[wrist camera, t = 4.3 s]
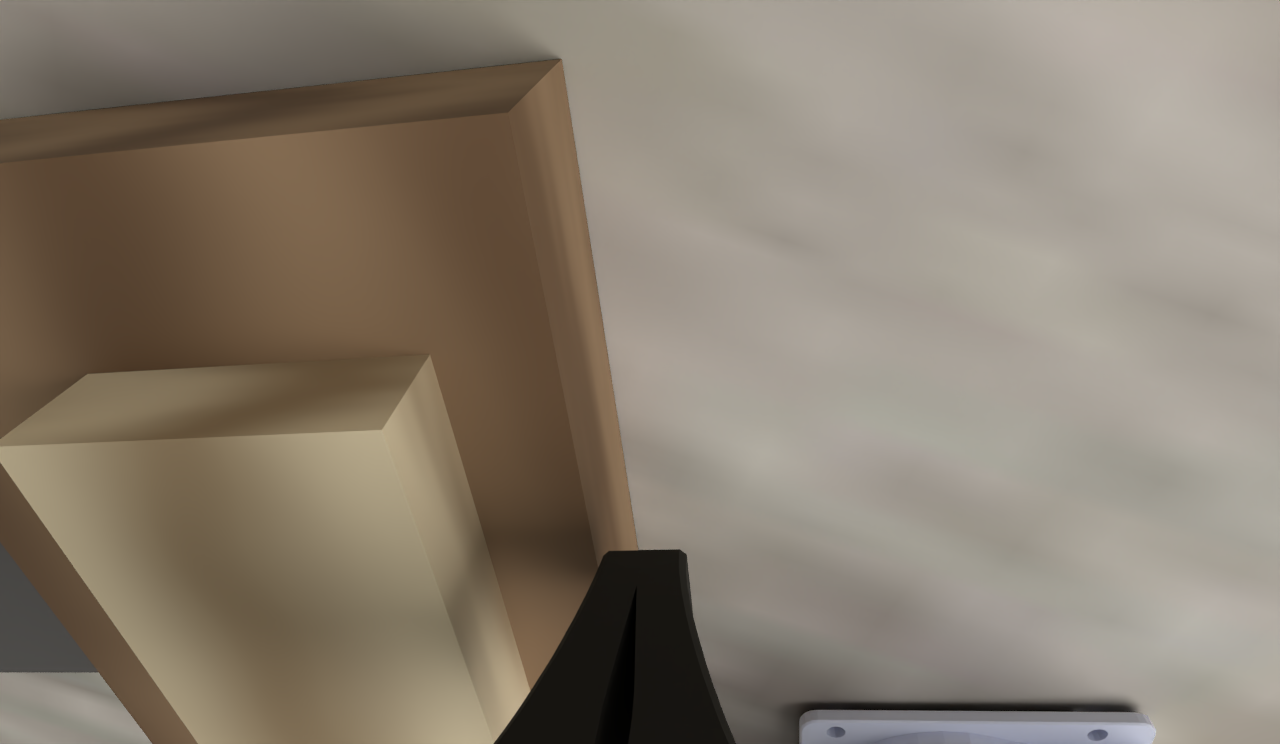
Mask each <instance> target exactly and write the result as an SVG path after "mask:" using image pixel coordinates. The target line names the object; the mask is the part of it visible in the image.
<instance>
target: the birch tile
mask: <svg viewBox="0 0 1280 744" xmlns="http://www.w3.org/2000/svg"><path fill="white" fill-rule="evenodd" d="M0 463H1V464H2V466H3V467H4V468H5V470H6V471H7V473H8V474H9V476H10V477H11V478H12V480H13V481H14V483H15V484H16V485H17V487H18V488H19V490H20V491H21V493H22V494H23V495H24V497H25V498H26V500H27V501H28V503H29V504H30V505H31V507H32V508H33V510H34V511H35V513H36V514H37V515H38V517H39V518H40V520H41V521H42V522H43V524H44V525H45V527H46V528H47V530H48V531H49V532H50V534H51V535H52V537H53V538H54V540H55V541H56V542H57V544H58V545H59V547H60V548H61V549H62V551H63V552H64V554H65V555H66V557H67V558H68V559H69V561H70V562H71V564H72V565H73V567H74V568H75V569H76V571H77V572H78V574H79V575H80V577H81V578H82V579H83V581H84V582H85V584H86V585H87V586H88V588H89V589H90V591H91V592H92V594H93V595H94V596H95V598H96V599H97V601H98V602H99V604H100V605H101V606H102V608H103V609H104V611H105V612H106V614H107V615H108V616H109V618H110V619H111V621H112V622H113V623H114V625H115V626H116V628H117V629H118V631H119V632H120V633H121V635H122V636H123V638H124V639H125V641H126V642H127V643H128V645H129V646H130V648H131V649H132V650H133V652H134V653H135V655H136V656H137V658H138V659H139V660H140V662H141V663H142V665H143V666H144V668H145V669H146V670H147V672H148V673H149V675H150V676H151V678H152V679H153V680H154V682H155V683H156V685H157V686H158V687H159V689H160V690H161V692H162V693H163V695H164V696H165V697H166V699H167V700H168V702H169V703H170V705H171V706H172V707H173V709H174V710H175V712H176V713H177V715H178V716H179V717H180V719H181V720H182V722H183V723H184V724H185V726H186V727H187V729H188V730H189V732H190V733H191V734H192V736H193V737H194V739H195V740H196V742H197V743H198V744H494V742H495V741H496V740H497V738H498V737H499V736H500V734H501V733H502V732H503V730H504V729H505V727H506V726H507V725H508V723H509V722H510V721H511V719H512V718H513V716H514V715H515V713H516V712H517V710H518V709H519V708H520V706H521V705H522V703H523V702H524V700H525V699H526V697H527V696H528V694H529V692H530V688H529V685H528V682H527V678H526V675H525V671H524V668H523V665H522V661H521V658H520V655H519V651H518V648H517V645H516V641H515V638H514V635H513V631H512V628H511V625H510V621H509V618H508V614H507V611H506V608H505V604H504V601H503V598H502V594H501V591H500V588H499V584H498V581H497V578H496V574H495V571H494V568H493V564H492V561H491V558H490V554H489V551H488V547H487V544H486V541H485V537H484V534H483V531H482V527H481V524H480V521H479V517H478V514H477V511H476V507H475V504H474V501H473V497H472V494H471V490H470V487H469V484H468V480H467V477H466V474H465V470H464V467H463V464H462V460H461V457H460V454H459V450H458V447H457V444H456V440H455V437H454V433H453V430H452V427H451V423H450V420H449V417H448V413H447V410H446V407H445V403H444V400H443V397H442V393H441V390H440V387H439V383H438V380H437V376H436V373H435V370H434V366H433V363H432V360H431V356H430V354H429V355H412V356H394V357H376V358H359V359H341V360H324V361H306V362H289V363H271V364H254V365H236V366H218V367H201V368H183V369H166V370H148V371H131V372H113V373H96V374H87V375H85V376H84V377H83V378H81V379H80V380H79V381H77V382H76V383H75V384H73V385H72V386H71V387H69V388H68V389H67V390H65V391H64V392H63V393H61V394H60V395H59V396H57V397H56V398H55V399H53V400H52V401H51V402H49V403H48V404H47V405H45V406H44V407H43V408H41V409H40V410H39V411H37V412H36V413H35V414H33V415H32V416H30V417H29V418H28V419H26V420H25V421H24V422H22V423H21V424H20V425H18V426H17V427H16V428H14V429H13V430H12V431H10V432H9V433H8V434H6V435H5V436H4V437H2V438H1V439H0Z"/></svg>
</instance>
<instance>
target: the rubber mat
mask: <svg viewBox="0 0 1280 744" xmlns="http://www.w3.org/2000/svg"><path fill="white" fill-rule="evenodd" d="M0 672H98V671H97V669H96V668H95V667H94V665H93V664H92V663H91V662H90V660H89V659H88V658H87V656H86V655H85V654H84V652H83V651H82V650H81V648H80V647H79V646H78V644H77V643H76V642H75V640H74V639H73V638H72V636H71V635H70V634H69V632H68V631H67V630H66V628H65V627H64V626H63V624H62V623H61V622H60V620H59V619H58V618H57V617H56V615H55V614H54V613H53V611H52V610H51V609H50V607H49V606H48V605H47V603H46V602H45V601H44V599H43V598H42V597H41V595H40V594H39V593H38V591H37V590H36V589H35V587H34V586H33V585H32V583H31V582H30V581H29V579H28V578H27V577H26V576H25V574H24V573H23V572H22V570H21V569H20V568H19V566H18V565H17V564H16V562H15V561H14V560H13V558H12V557H11V556H10V554H9V553H8V552H7V550H6V549H5V548H4V546H3V545H2V544H1V542H0Z"/></svg>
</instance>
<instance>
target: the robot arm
mask: <svg viewBox="0 0 1280 744" xmlns="http://www.w3.org/2000/svg"><path fill="white" fill-rule="evenodd" d="M1155 735H1156V729H1155V727H1154V725H1153V723H1152V721H1151V720H1150V718H1149V717H1148V716H1147V715H1144V714H1142V713H1137V712H1055V711H920V710H810V711H808V712H805V713H804V714H803V715H802V716H801V717H800V720H799V744H1152V742H1153V740H1154V737H1155ZM494 744H736V743H735V741H734V738H733V736H732V733H731V731H730V728H729V726H728V724H727V721H726V718H725V716H724V713H723V711H722V708H721V705H720V703H719V700H718V697H717V694H716V691H715V689H714V686H713V683H712V680H711V677H710V674H709V671H708V668H707V665H706V662H705V658H704V655H703V651H702V648H701V645H700V641H699V638H698V634H697V631H696V626H695V622H694V618H693V611H692V601H691V592H690V582H689V573H688V563H687V555H686V554H685V553H684V552H682V551H681V550H627V551H608V552H607V553H606V554H605V555H604V556H603V558H602V560H601V563H600V565H599V567H598V570H597V572H596V574H595V576H594V579H593V581H592V583H591V585H590V587H589V589H588V591H587V593H586V596H585V598H584V600H583V601H582V603H581V605H580V607H579V609H578V611H577V613H576V615H575V617H574V619H573V621H572V622H571V624H570V626H569V628H568V630H567V631H566V633H565V635H564V637H563V638H562V640H561V642H560V644H559V646H558V647H557V649H556V651H555V653H554V654H553V656H552V658H551V659H550V661H549V663H548V664H547V666H546V667H545V669H544V671H543V672H542V674H541V675H540V677H539V678H538V680H537V682H536V683H535V685H534V686H533V688H532V689H531V691H530V692H529V694H528V696H527V697H526V699H525V700H524V702H523V703H522V705H521V706H520V708H519V709H518V710H517V712H516V713H515V715H514V716H513V718H512V719H511V721H510V722H509V723H508V725H507V726H506V727H505V729H504V730H503V732H502V733H501V734H500V736H499V737H498V738H497V740H496V741H495V742H494Z"/></svg>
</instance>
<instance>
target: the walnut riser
mask: <svg viewBox="0 0 1280 744" xmlns="http://www.w3.org/2000/svg"><path fill="white" fill-rule="evenodd" d="M429 354H430V356H431V360H432V363H433V366H434V370H435V373H436V376H437V380H438V383H439V387H440V390H441V393H442V397H443V400H444V403H445V407H446V410H447V413H448V417H449V420H450V423H451V427H452V430H453V433H454V437H455V440H456V444H457V447H458V450H459V454H460V457H461V460H462V464H463V467H464V470H465V474H466V477H467V480H468V484H469V487H470V490H471V494H472V497H473V501H474V504H475V507H476V511H477V514H478V517H479V521H480V524H481V527H482V531H483V534H484V537H485V541H486V544H487V547H488V551H489V554H490V558H491V561H492V564H493V568H494V571H495V574H496V578H497V581H498V584H499V588H500V591H501V594H502V598H503V601H504V604H505V608H506V611H507V614H508V618H509V621H510V625H511V628H512V631H513V635H514V638H515V641H516V645H517V648H518V651H519V655H520V658H521V661H522V665H523V668H524V671H525V675H526V678H527V682H528V685H529V688H530V691H531V689H532V688H533V686H534V685H535V683H536V682H537V680H538V678H539V677H540V675H541V674H542V672H543V671H544V669H545V667H546V666H547V664H548V663H549V661H550V659H551V658H552V656H553V654H554V653H555V651H556V649H557V647H558V646H559V644H560V642H561V640H562V638H563V637H564V635H565V633H566V631H567V630H568V628H569V626H570V624H571V622H572V621H573V619H574V617H575V615H576V613H577V611H578V609H579V607H580V605H581V603H582V601H583V600H584V598H585V596H586V593H587V591H588V589H589V587H590V585H591V583H592V581H593V579H594V576H595V574H596V572H597V570H598V567H599V565H600V563H601V560H602V558H603V556H604V555H605V554H606V553H607V552H608V551H627V550H638V545H637V539H636V533H635V526H634V520H633V513H632V507H631V501H630V494H629V488H628V481H627V475H626V468H625V462H624V456H623V449H622V443H621V436H620V430H619V424H618V417H617V411H616V404H615V398H614V392H613V385H612V379H611V372H610V366H609V359H608V353H607V347H606V340H605V334H604V327H603V321H602V315H601V308H600V302H599V295H598V289H597V282H596V276H595V270H594V263H593V257H592V250H591V244H590V238H589V231H588V225H587V218H586V212H585V206H584V199H583V193H582V186H581V180H580V173H579V167H578V161H577V154H576V148H575V141H574V135H573V129H572V122H571V116H570V109H569V103H568V97H567V90H566V84H565V77H564V71H563V64H562V59H557V60H547V61H538V62H529V63H520V64H510V65H501V66H492V67H483V68H473V69H464V70H455V71H446V72H436V73H427V74H418V75H409V76H400V77H390V78H381V79H372V80H363V81H353V82H344V83H335V84H326V85H316V86H307V87H298V88H289V89H279V90H270V91H261V92H252V93H243V94H233V95H224V96H215V97H206V98H196V99H187V100H178V101H169V102H159V103H150V104H141V105H132V106H122V107H113V108H104V109H95V110H86V111H76V112H67V113H58V114H49V115H39V116H30V117H21V118H12V119H2V120H0V439H1V438H2V437H4V436H5V435H6V434H8V433H9V432H10V431H12V430H13V429H14V428H16V427H17V426H18V425H20V424H21V423H22V422H24V421H25V420H26V419H28V418H29V417H30V416H32V415H33V414H35V413H36V412H37V411H39V410H40V409H41V408H43V407H44V406H45V405H47V404H48V403H49V402H51V401H52V400H53V399H55V398H56V397H57V396H59V395H60V394H61V393H63V392H64V391H65V390H67V389H68V388H69V387H71V386H72V385H73V384H75V383H76V382H77V381H79V380H80V379H81V378H83V377H84V376H85V375H87V374H96V373H113V372H131V371H148V370H166V369H183V368H201V367H218V366H236V365H254V364H271V363H289V362H306V361H324V360H341V359H359V358H376V357H394V356H412V355H429ZM0 542H1V544H2V545H3V546H4V548H5V549H6V550H7V552H8V553H9V554H10V556H11V557H12V558H13V560H14V561H15V562H16V564H17V565H18V566H19V568H20V569H21V570H22V572H23V573H24V574H25V576H26V577H27V578H28V579H29V581H30V582H31V583H32V585H33V586H34V587H35V589H36V590H37V591H38V593H39V594H40V595H41V597H42V598H43V599H44V601H45V602H46V603H47V605H48V606H49V607H50V609H51V610H52V611H53V613H54V614H55V615H56V617H57V618H58V619H59V620H60V622H61V623H62V624H63V626H64V627H65V628H66V630H67V631H68V632H69V634H70V635H71V636H72V638H73V639H74V640H75V642H76V643H77V644H78V646H79V647H80V648H81V650H82V651H83V652H84V654H85V655H86V656H87V658H88V659H89V660H90V662H91V663H92V664H93V665H94V667H95V668H96V669H97V671H98V672H99V673H100V675H101V676H102V677H103V679H104V680H105V681H106V683H107V684H108V685H109V687H110V688H111V689H112V691H113V692H114V693H115V695H116V696H117V697H118V699H119V700H120V701H121V703H122V704H123V705H124V706H125V708H126V709H127V710H128V712H129V713H130V714H131V716H132V717H133V718H134V720H135V721H136V722H137V724H138V725H139V726H140V728H141V729H142V730H143V732H144V733H145V734H146V736H147V737H148V738H149V740H150V741H151V742H152V744H198V743H197V742H196V740H195V739H194V737H193V736H192V734H191V733H190V732H189V730H188V729H187V727H186V726H185V724H184V723H183V722H182V720H181V719H180V717H179V716H178V715H177V713H176V712H175V710H174V709H173V707H172V706H171V705H170V703H169V702H168V700H167V699H166V697H165V696H164V695H163V693H162V692H161V690H160V689H159V687H158V686H157V685H156V683H155V682H154V680H153V679H152V678H151V676H150V675H149V673H148V672H147V670H146V669H145V668H144V666H143V665H142V663H141V662H140V660H139V659H138V658H137V656H136V655H135V653H134V652H133V650H132V649H131V648H130V646H129V645H128V643H127V642H126V641H125V639H124V638H123V636H122V635H121V633H120V632H119V631H118V629H117V628H116V626H115V625H114V623H113V622H112V621H111V619H110V618H109V616H108V615H107V614H106V612H105V611H104V609H103V608H102V606H101V605H100V604H99V602H98V601H97V599H96V598H95V596H94V595H93V594H92V592H91V591H90V589H89V588H88V586H87V585H86V584H85V582H84V581H83V579H82V578H81V577H80V575H79V574H78V572H77V571H76V569H75V568H74V567H73V565H72V564H71V562H70V561H69V559H68V558H67V557H66V555H65V554H64V552H63V551H62V549H61V548H60V547H59V545H58V544H57V542H56V541H55V540H54V538H53V537H52V535H51V534H50V532H49V531H48V530H47V528H46V527H45V525H44V524H43V522H42V521H41V520H40V518H39V517H38V515H37V514H36V513H35V511H34V510H33V508H32V507H31V505H30V504H29V503H28V501H27V500H26V498H25V497H24V495H23V494H22V493H21V491H20V490H19V488H18V487H17V485H16V484H15V483H14V481H13V480H12V478H11V477H10V476H9V474H8V473H7V471H6V470H5V468H4V467H3V466H2V464H1V463H0Z"/></svg>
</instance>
